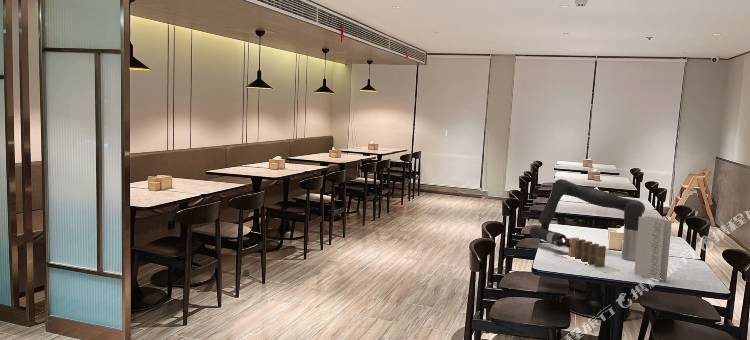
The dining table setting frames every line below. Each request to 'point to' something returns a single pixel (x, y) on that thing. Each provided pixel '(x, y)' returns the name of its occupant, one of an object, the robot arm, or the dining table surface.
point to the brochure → (652, 247)
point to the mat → (605, 269)
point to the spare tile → (572, 246)
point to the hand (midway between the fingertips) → (575, 245)
